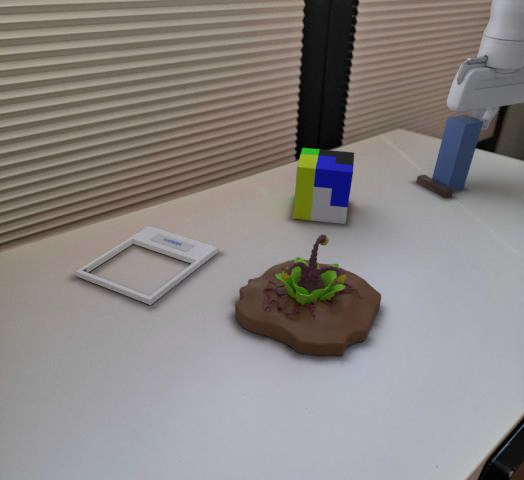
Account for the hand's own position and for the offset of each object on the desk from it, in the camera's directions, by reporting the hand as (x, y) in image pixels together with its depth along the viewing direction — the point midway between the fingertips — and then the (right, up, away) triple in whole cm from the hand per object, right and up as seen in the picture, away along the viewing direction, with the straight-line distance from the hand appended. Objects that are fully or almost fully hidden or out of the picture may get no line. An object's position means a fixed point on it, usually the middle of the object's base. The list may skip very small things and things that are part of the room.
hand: (479, 129), depth 106 cm
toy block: (-5, -10, +5) cm, 12 cm away
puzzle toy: (-34, -19, -5) cm, 39 cm away
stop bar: (-8, -11, +4) cm, 15 cm away
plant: (-38, -40, -31) cm, 64 cm away
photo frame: (-64, -32, -23) cm, 75 cm away
